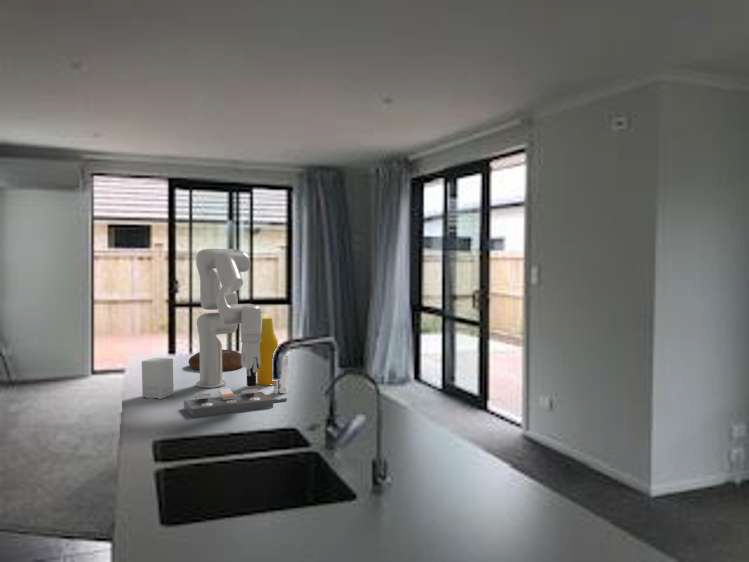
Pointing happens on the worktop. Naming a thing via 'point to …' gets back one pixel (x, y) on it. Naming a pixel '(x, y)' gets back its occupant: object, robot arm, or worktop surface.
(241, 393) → the outlet rocker
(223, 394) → the outlet rocker
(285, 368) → the beer glass
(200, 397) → the rocker outlet
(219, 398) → the power strip
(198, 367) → the bread
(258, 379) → the beer bottle
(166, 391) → the supplement box
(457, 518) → the worktop surface
